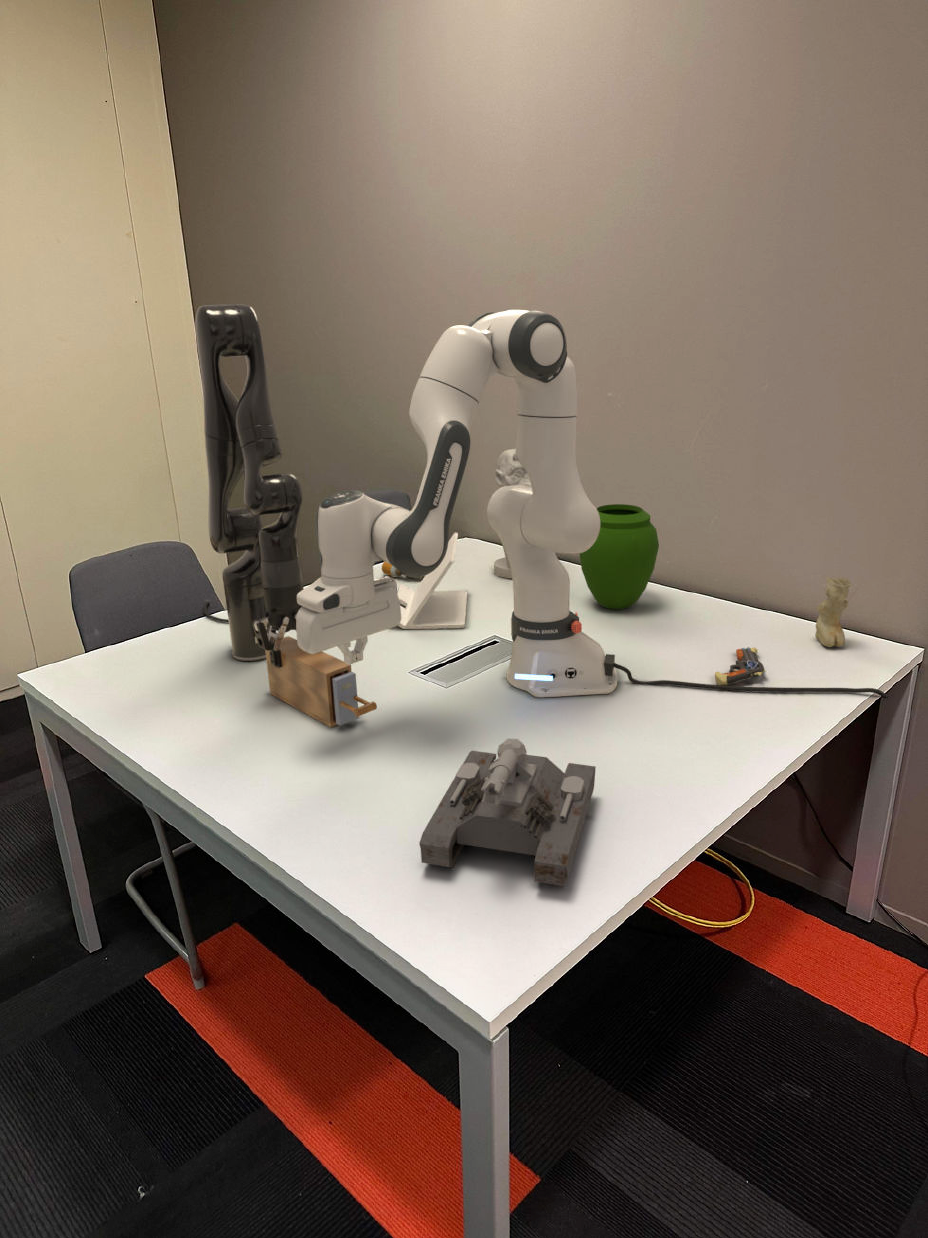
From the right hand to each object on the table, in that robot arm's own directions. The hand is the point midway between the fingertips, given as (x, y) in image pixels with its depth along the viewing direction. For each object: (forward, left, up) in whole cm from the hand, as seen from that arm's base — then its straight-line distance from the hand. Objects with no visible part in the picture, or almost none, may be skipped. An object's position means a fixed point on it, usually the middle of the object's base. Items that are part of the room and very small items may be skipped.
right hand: (353, 661), depth 150 cm
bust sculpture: (-25, -94, -14) cm, 98 cm away
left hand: (+16, -14, -6) cm, 22 cm away
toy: (-30, +29, -14) cm, 44 cm away
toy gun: (-72, -31, -14) cm, 80 cm away
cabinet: (+12, -10, -14) cm, 21 cm away
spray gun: (+8, -95, -14) cm, 97 cm away
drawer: (+8, -6, -13) cm, 16 cm away
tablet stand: (-3, -64, -14) cm, 65 cm away
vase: (-49, -70, -14) cm, 87 cm away
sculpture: (-94, -47, -14) cm, 106 cm away
